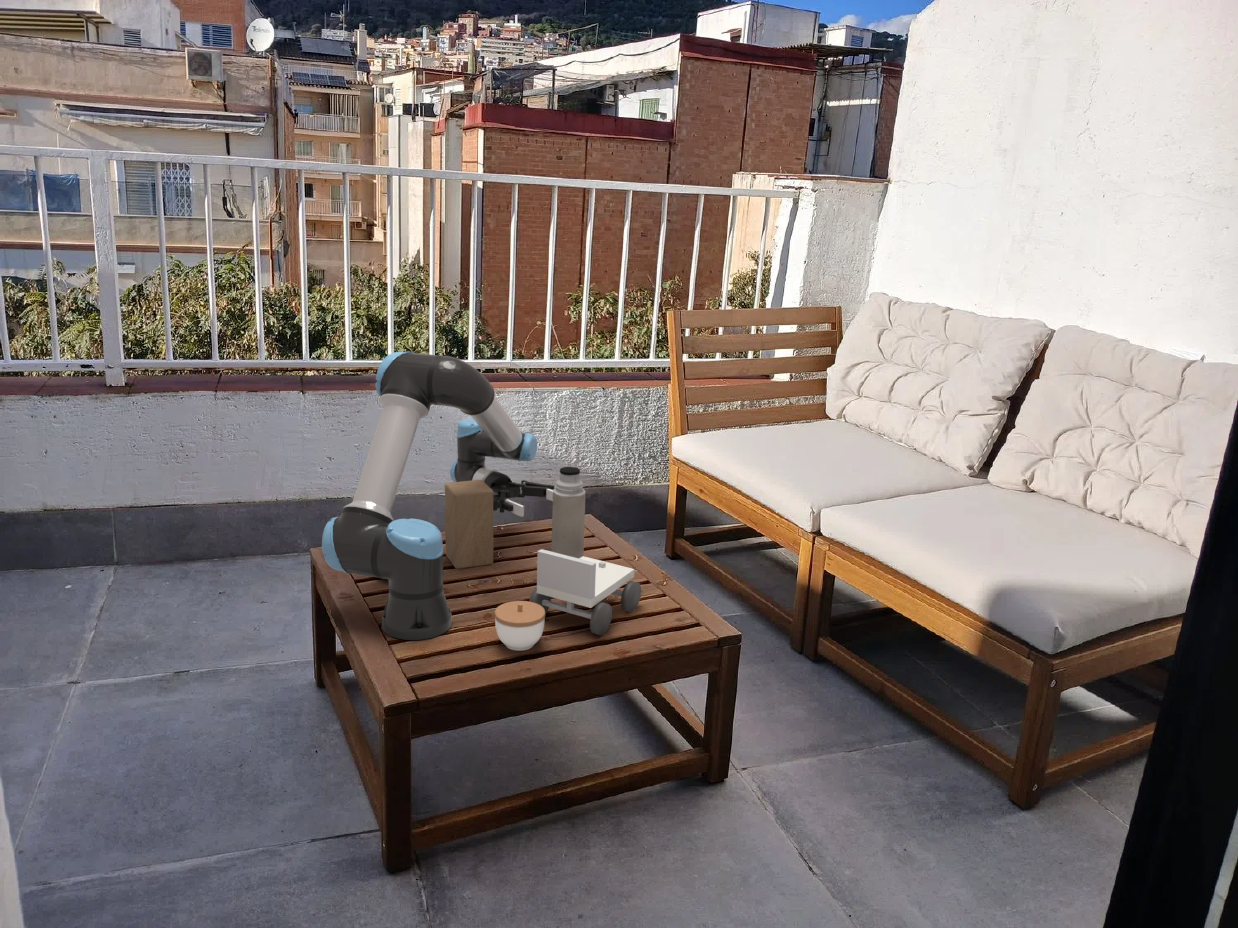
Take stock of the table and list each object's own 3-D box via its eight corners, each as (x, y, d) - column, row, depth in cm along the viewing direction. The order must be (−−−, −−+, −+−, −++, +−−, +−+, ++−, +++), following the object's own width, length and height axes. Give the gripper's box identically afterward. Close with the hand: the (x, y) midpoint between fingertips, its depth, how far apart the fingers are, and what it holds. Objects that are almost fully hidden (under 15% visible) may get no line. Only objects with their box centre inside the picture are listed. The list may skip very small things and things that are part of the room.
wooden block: (445, 555, 255) (444, 482, 249) (482, 550, 259) (482, 478, 253) (455, 569, 246) (454, 494, 240) (493, 564, 250) (493, 490, 244)
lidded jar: (484, 645, 208) (484, 605, 206) (516, 628, 217) (516, 589, 214) (523, 661, 203) (523, 620, 200) (554, 642, 211) (555, 602, 208)
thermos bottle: (546, 571, 248) (548, 465, 239) (575, 566, 251) (578, 462, 243) (558, 583, 241) (560, 475, 233) (587, 578, 244) (591, 471, 236)
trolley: (595, 640, 213) (598, 568, 208) (528, 620, 221) (529, 550, 216) (640, 605, 230) (643, 538, 225) (576, 588, 238) (578, 522, 233)
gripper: (528, 488, 272) (579, 509, 257) (454, 507, 255) (504, 530, 241) (528, 462, 270) (580, 482, 255) (454, 480, 253) (504, 502, 238)
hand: (543, 505), depth 248 cm, fingers open, 13 cm apart
